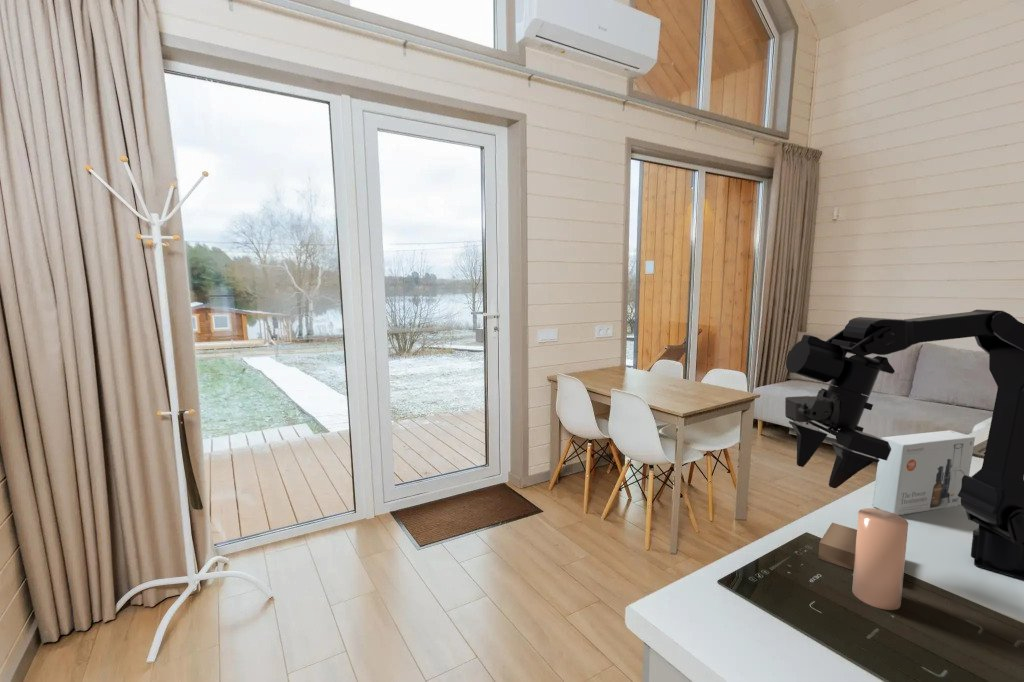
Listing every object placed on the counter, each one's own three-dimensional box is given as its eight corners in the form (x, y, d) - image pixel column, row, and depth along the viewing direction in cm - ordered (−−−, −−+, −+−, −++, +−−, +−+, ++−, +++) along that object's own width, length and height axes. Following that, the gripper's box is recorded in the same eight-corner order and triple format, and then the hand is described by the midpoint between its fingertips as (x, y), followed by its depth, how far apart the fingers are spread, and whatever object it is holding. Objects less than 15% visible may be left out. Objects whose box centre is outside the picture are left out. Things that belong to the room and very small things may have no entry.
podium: (897, 557, 85) (898, 541, 84) (889, 582, 78) (891, 565, 77) (830, 537, 92) (832, 522, 91) (818, 558, 85) (819, 542, 84)
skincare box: (896, 518, 99) (903, 444, 97) (871, 506, 104) (876, 436, 103) (968, 505, 105) (976, 435, 103) (940, 495, 110) (947, 428, 108)
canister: (902, 596, 74) (910, 517, 73) (898, 615, 70) (905, 531, 68) (856, 580, 78) (862, 504, 77) (848, 597, 74) (855, 517, 73)
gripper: (774, 367, 89) (745, 444, 91) (838, 388, 70) (800, 485, 72) (831, 384, 89) (801, 461, 91) (911, 410, 70) (871, 506, 72)
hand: (815, 476), depth 82 cm, fingers open, 9 cm apart
